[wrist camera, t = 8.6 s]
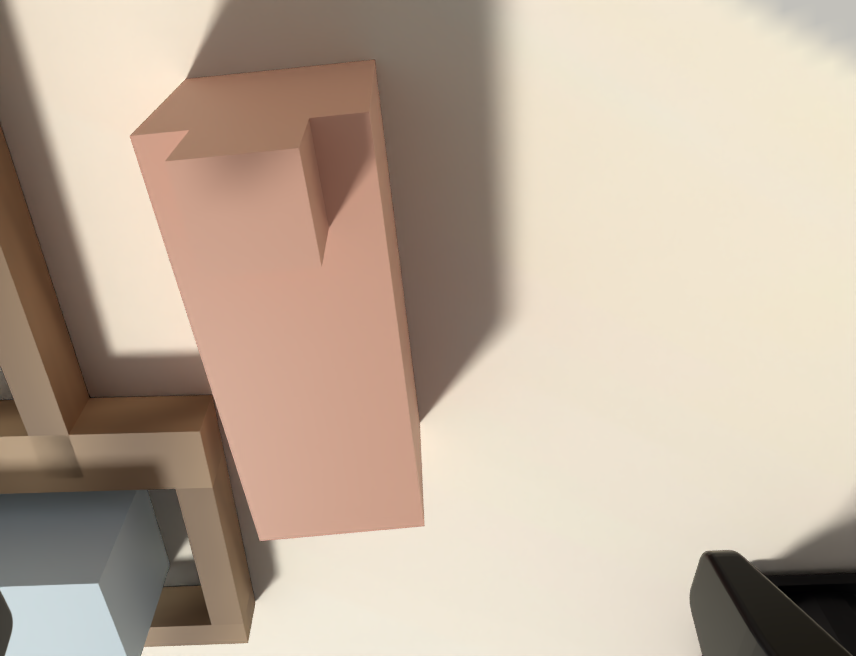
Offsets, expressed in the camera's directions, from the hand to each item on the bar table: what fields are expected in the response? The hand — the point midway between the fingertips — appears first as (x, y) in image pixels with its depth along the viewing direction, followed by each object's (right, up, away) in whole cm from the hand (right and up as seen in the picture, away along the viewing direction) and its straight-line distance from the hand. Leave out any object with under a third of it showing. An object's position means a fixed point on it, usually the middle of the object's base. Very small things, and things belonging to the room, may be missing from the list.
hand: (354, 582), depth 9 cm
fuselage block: (-2, +5, +9) cm, 10 cm away
